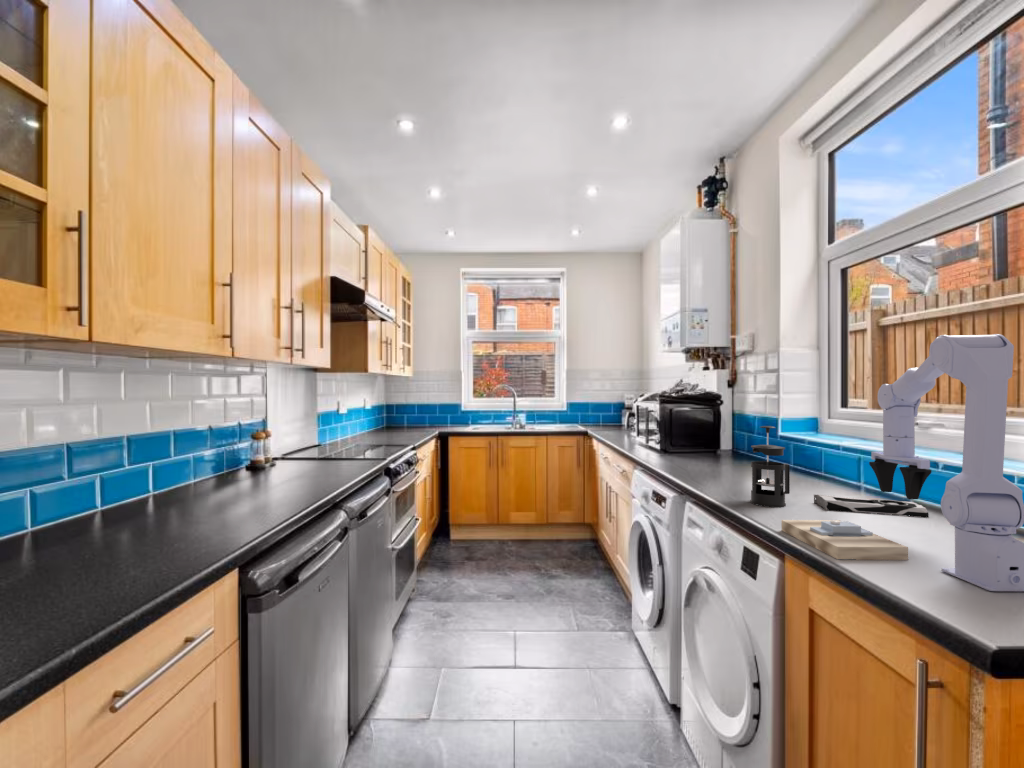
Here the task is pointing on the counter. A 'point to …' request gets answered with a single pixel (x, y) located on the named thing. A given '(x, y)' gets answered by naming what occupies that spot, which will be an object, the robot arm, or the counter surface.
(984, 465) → the robot arm
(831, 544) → the board
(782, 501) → the french press
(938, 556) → the counter surface
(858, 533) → the block
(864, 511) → the graphics card
